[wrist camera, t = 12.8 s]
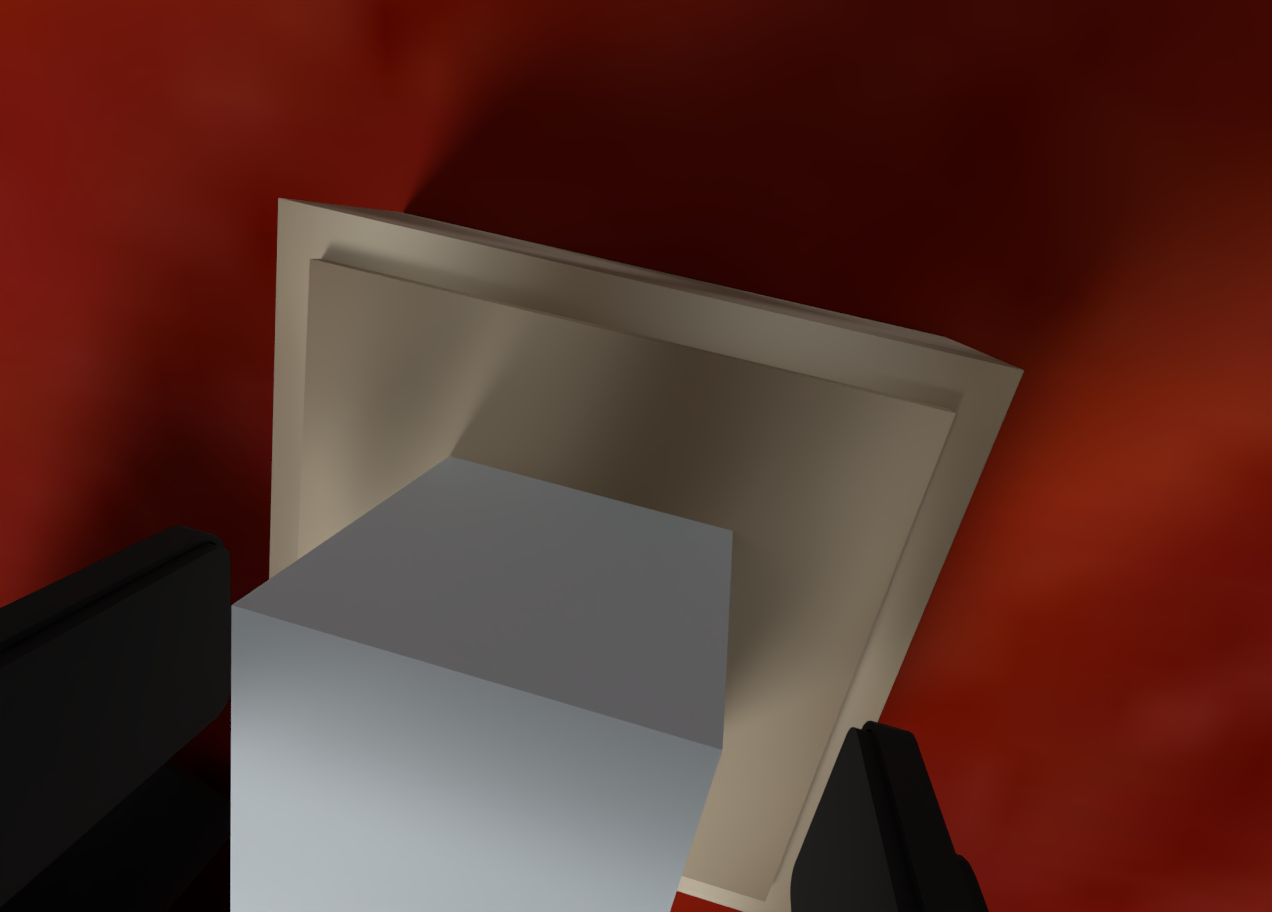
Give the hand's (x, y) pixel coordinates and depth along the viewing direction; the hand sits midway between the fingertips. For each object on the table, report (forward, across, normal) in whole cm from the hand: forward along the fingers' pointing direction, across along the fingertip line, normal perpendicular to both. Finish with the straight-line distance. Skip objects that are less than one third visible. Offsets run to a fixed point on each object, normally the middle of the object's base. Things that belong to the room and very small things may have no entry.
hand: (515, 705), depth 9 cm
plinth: (+7, 0, 0) cm, 7 cm away
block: (+2, 0, 0) cm, 2 cm away
